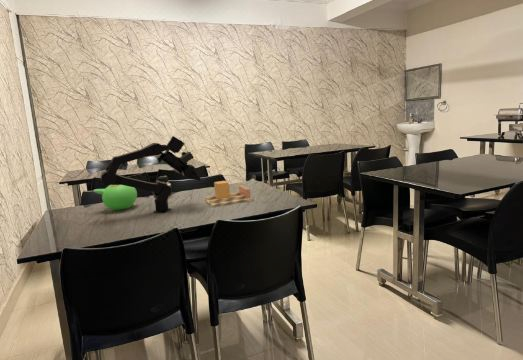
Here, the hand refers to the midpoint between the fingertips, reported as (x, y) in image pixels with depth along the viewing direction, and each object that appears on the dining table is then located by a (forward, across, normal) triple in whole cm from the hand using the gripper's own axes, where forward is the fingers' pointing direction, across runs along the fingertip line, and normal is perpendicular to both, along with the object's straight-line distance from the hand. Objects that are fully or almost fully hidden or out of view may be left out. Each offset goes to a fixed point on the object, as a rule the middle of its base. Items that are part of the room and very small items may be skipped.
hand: (197, 178), depth 186 cm
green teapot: (-18, +20, +35) cm, 44 cm away
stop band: (+26, -3, -7) cm, 27 cm away
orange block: (+17, -2, +1) cm, 17 cm away
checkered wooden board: (+20, -2, 0) cm, 20 cm away
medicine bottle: (+1, +31, +18) cm, 36 cm away
